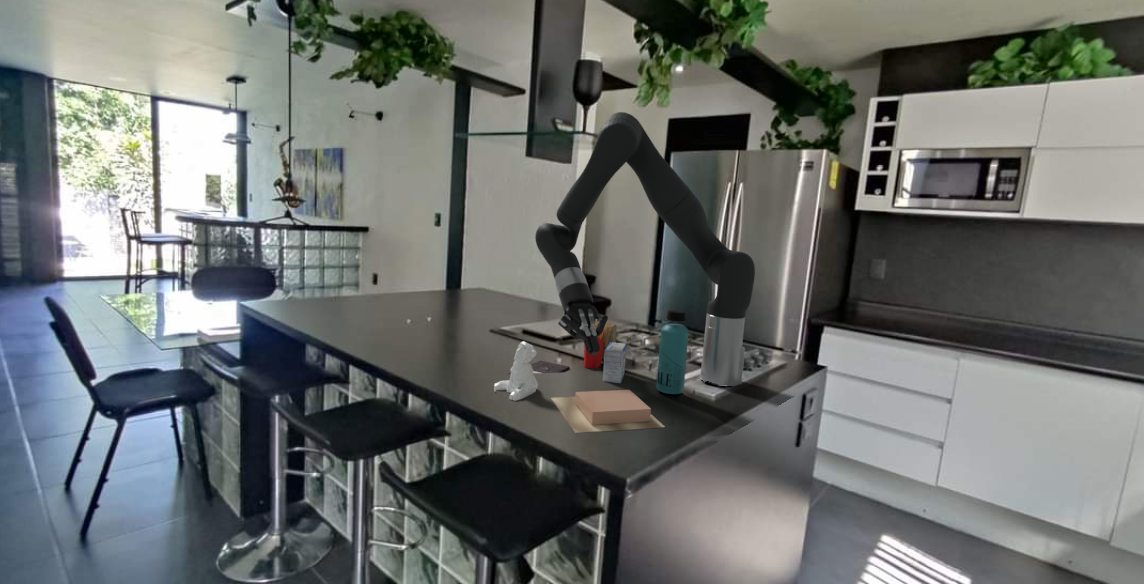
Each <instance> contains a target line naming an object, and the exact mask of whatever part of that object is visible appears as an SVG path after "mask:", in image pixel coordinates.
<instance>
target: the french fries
mask: <svg viewBox="0 0 1144 584" xmlns="http://www.w3.org/2000/svg"><path fill="white" fill-rule="evenodd" d="M596 321H597V320H595V330H596V328H597V325H598V324H596V323H597V322H596ZM597 340H598V343H599V346H600V350H599V352H598V353H597V354H596V355H590V354H589V353H588V352H587V350H586V347H585V344H584V343H583V344H584V346H583V347H584V348H583V367H584V368H585V369H587V368H588V369H591V370H592V369H597V368H600V367H601V365H602V361H603V358H602V352H603V341H604V329H603V332H602V333H601V335H600V336H599V337H598V338H597Z"/></svg>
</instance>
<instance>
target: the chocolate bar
mask: <svg viewBox="0 0 1144 584" xmlns="http://www.w3.org/2000/svg"><path fill="white" fill-rule="evenodd" d="M530 364H531V366H532V369H533V373H534V374H556V373H558V374H559V373H561V374H562V373H564V372H566V371H568V370H570V366H568V365H564V364H558V363H553V362H549V361H545V360H544V361H543V360H537V361H535V362H534V363H530ZM508 375H511V372H509V373H508Z"/></svg>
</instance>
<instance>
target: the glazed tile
mask: <svg viewBox="0 0 1144 584" xmlns="http://www.w3.org/2000/svg"><path fill="white" fill-rule="evenodd" d="M574 397H575V404H576V405H577V406H578V408H579V409H580V410H581V411H582V413H583V414H584V415H585V416H586V418H587V419H588V420H589V421H590V423H591V424H593V425H597V424H613V423H629V422H645V421H650V415H652V414H651V413H652V408H651V407H650V406H649V405H647V404H646V403H645V402H644V401H643V400H642V399H640V397H638V396H637V395H636V394H635V393H633V391H631V390H630V389H617V390H615V389H614V390H612V389H611V390H593V391H592V390H591V391H576V392H575V395H574Z"/></svg>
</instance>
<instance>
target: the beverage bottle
mask: <svg viewBox="0 0 1144 584" xmlns="http://www.w3.org/2000/svg"><path fill="white" fill-rule="evenodd" d="M666 320H667V321H672V322H682V323H683V322H686V311H684V310H680V309H668V311H667V316H666ZM689 333H690V331H689V329H688V328H687V327H686V325H683V324H680V323H666V324H664V325H663V326H662V327H661V329H660V338H659V339H660V341H659V346H658V347H659V349H658V362H657V369H656V370H657V372H656V377H655V378H656V379H655V383H656V385H655V386H656V390H657V391H659V392H661V393H664V394H667V395H668V394H669V395H680V394H682V393H683V391H684V389H685V384H686V383H685V380H686V369H687V365H686V364H687V355H688V342H689Z"/></svg>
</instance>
